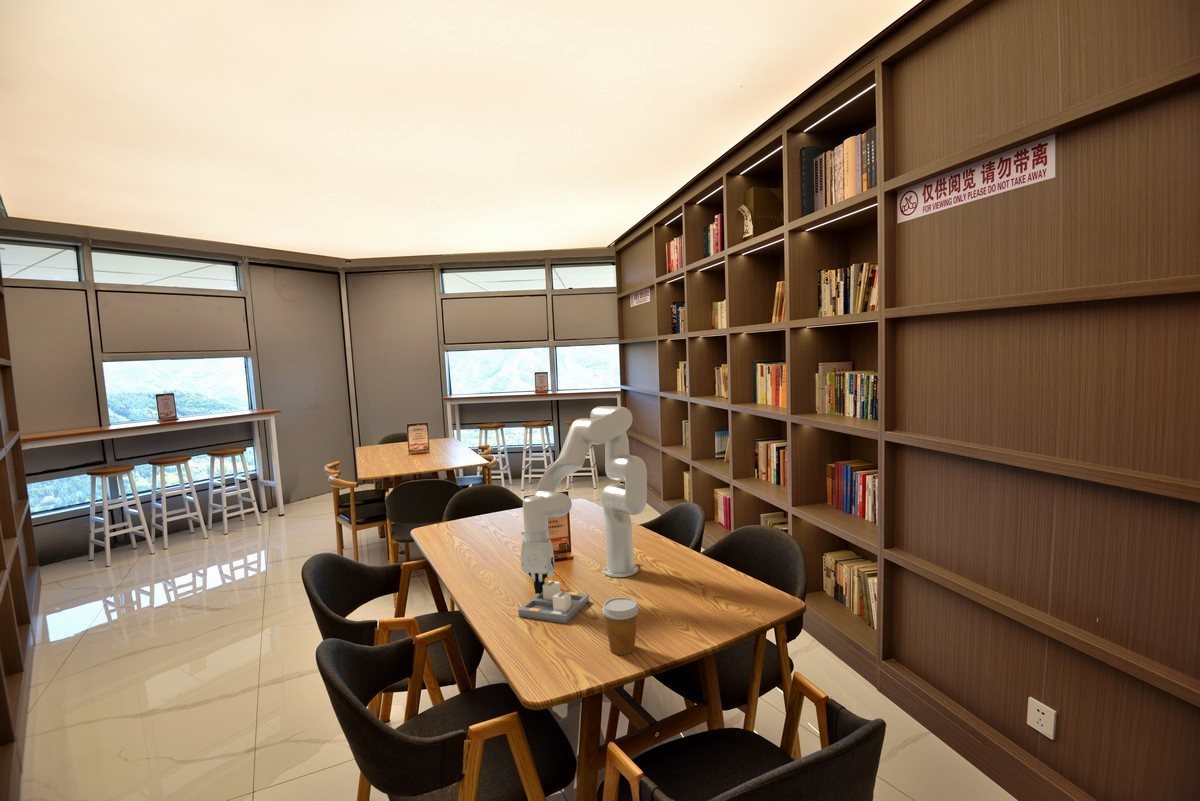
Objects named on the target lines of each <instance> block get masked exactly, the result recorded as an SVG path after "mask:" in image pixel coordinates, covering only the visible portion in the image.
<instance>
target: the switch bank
mask: <svg viewBox="0 0 1200 801" xmlns="http://www.w3.org/2000/svg"><path fill="white" fill-rule="evenodd" d="M560 592H564V591H562V590H560ZM566 592H567V593H571V609H570V610H569V611H568V612H567V613H564V612H560V611H553V600H548V599H543V592H542V593H541V594H535V596H533V597H532V598H531V599H529V601H527V602H526V603H525V604H523V605H522V606H521V607H520V608H518V610H517V611H518V617H519V616H522V617H521V618H524V617H529V618H528V619H531V618H534V620H538V619H540V621H545V620H547V622H554V623H561V624H568V623H569V622H570V621H571V620H572V619H573V618H574V617H575V616H577V615H578V613H579V612H580V611H581V610H582V609H583V608H584V607H585V606H587V604H588V603H589V602H590V597H589V596H590V595H589V594H586V593H579V592H573V591H566ZM587 602H588V603H587ZM586 603H587V604H586ZM583 606H584V607H583ZM582 607H583V608H582ZM581 608H582V609H581ZM580 609H581V610H580ZM579 610H580V611H579Z"/></svg>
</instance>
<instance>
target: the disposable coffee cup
mask: <svg viewBox="0 0 1200 801" xmlns="http://www.w3.org/2000/svg"><path fill="white" fill-rule="evenodd" d="M603 602H604V603H603V606H602V608H601V612H602V614H603V617H604V622H605V628H606V634H607V640H608V646H609V651H610V652H611V653H612V654H613V655H617V656H627V655H631V654H632V653H633V652H634V651H635V648H636V647H635V646H636V635H637V634H636V633H637V620H638V612H639V610H640V608H639V606H638V603H637V601H636V600H635V599H633V598H631V597H622V596H621V597H620V596H619V597H618V596H617V597H611V598H609V599H607V600H605V601H603Z"/></svg>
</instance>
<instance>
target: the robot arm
mask: <svg viewBox="0 0 1200 801" xmlns="http://www.w3.org/2000/svg"><path fill="white" fill-rule="evenodd" d="M589 414H590V415H589V417H590V418H586V417H585V418H577V419H576V420H574V421H573V422H572V423H571V425H570V428H569V430H568V432H567V435H566V437H565V440H564V442H563V445H562V448H561V450H560V453H559V455H558V457H557V459H556V460H555V461H554V462H552V464H551V465H550V466H549V467H548V468H546V471H544V473H543V474H542V475H541V477H540V479H539V481H538V484H537V487H536V489H535V492H534V494H533V495H531V496H527V497H524V499H523V501H522V514H523V516H522V517H523V525H524V526H523V530H522V531H521V536H524V539H522V541H521V548H520V549H521V550H520V568H521V571H522V572H523V573H524V574H526V575H529V577H530V578H531V580H532V581H533V586H534V587H533V588H534V593H535V595H537V594H541V593H542V592H543V585H544V584H545V583H546V582H545V581H546V579H547V577H552V576H554V575H555V570H554V569H555V555H554V548H553V543H552V541H551V538H549V522H548V518H559V517H563V516H565V515H568V513H570V511H571V509H572V505H573V503H572V499H571V498H570V496H569V495H567V494H566V493H563V492H558V491H556V490H557V487H558V486H559V485H560V483H561V482H562V481H563V479H566V477H568V476H569V475H572V474H574V473H576V472H577V471H579V470H580V469H582V467H583V466H584V463H585V460H586V458H587V455H588V452H589V450H590V447H591V445H597V446H598V445H603V444H604V448H605V452H604V453H605V454H604V455H605V456H604V457H605V458H604V460H605V461H604V464H605V466H604V467H605V468H604V469H605V470H604V471H605V474H606V476H607V478H609V479H610V480H612V481H617V482H623V483H624V484H621V483H611V484H608V485H606V486H605V487H604V488H603V489H602V492H601V494H600V500H601V506H602V510H603V516H604V527H605V530H604V531H605V532H604V533H605V547H606V548H605V552H606V565H605V566H604V567H603V568H602V571H603V574H604V575H606V576H608V577H611V578H627V577H628V578H629V577H631V576H634V575H636V574H637V573H638V571H639V567H638V565H637V564H635V563H634V558H635V553H634V547H633V546H634V545H633V530H632V529H633V525H632V518H631V516H638V515H640V514H642V513H643V511H644V510H645V509H646V505H647V501H648V500H647V499H648V497H647V496H648V472H647V466H646V462H645V461H644V460H643V459H642V458H641V457H639V456H637V455H631V454H630V443H629V442H630V440H629V437H628V434H627V431H628V430H629V429H630V427H631V426H632V423H633V414H632V412H631V411H630V409H628V408H627V407H624V406H609V405H606V406H605V405H604V406H601V405H600V406H596V407H594V408H593V409H592V410H591V411H590V413H589Z"/></svg>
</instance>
